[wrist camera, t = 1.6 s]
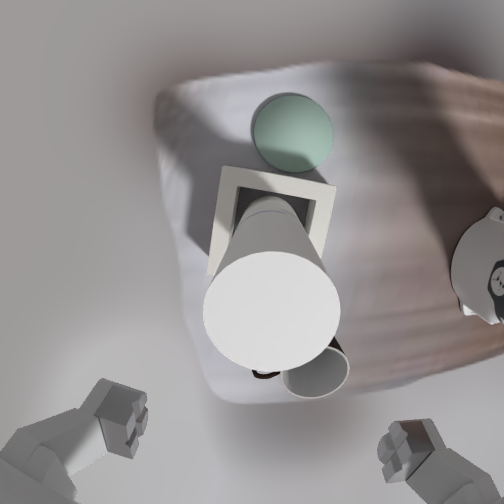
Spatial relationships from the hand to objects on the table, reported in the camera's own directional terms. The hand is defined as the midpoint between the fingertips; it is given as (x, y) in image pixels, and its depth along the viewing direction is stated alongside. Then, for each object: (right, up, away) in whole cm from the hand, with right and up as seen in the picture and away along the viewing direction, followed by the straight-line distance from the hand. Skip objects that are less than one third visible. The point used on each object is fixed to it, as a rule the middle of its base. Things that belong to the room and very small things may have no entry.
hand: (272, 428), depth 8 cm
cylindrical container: (+2, +9, +31) cm, 33 cm away
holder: (+2, +9, +31) cm, 32 cm away
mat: (+5, +20, +28) cm, 35 cm away
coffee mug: (+6, -6, +36) cm, 37 cm away
